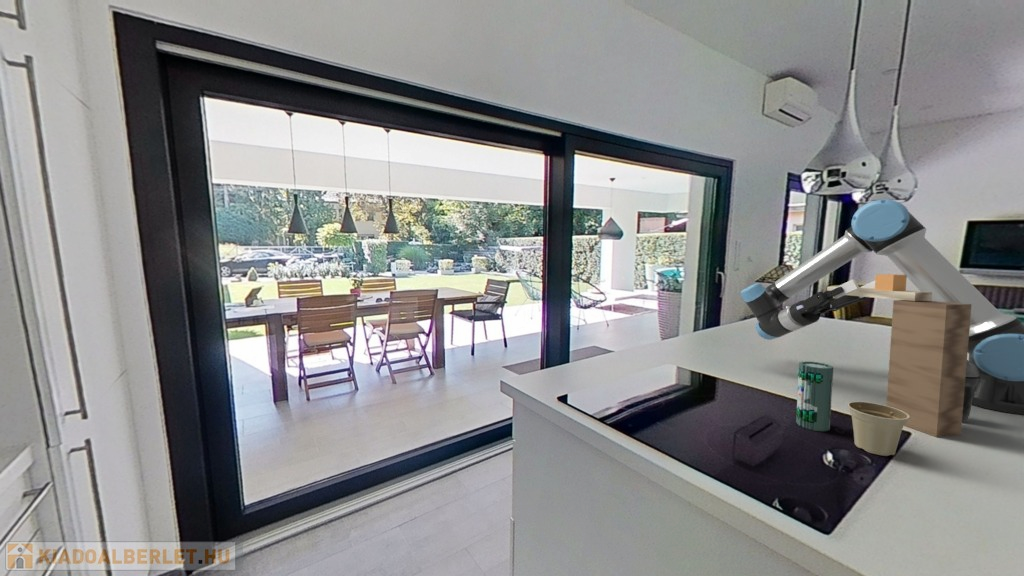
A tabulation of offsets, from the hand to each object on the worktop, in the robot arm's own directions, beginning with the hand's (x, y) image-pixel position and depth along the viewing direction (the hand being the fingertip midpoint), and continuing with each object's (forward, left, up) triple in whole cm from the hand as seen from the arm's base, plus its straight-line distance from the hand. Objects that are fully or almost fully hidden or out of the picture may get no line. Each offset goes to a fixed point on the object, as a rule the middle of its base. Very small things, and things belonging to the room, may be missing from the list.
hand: (868, 283), depth 101 cm
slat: (0, +1, -3) cm, 4 cm away
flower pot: (+23, +20, -34) cm, 46 cm away
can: (+25, +8, -34) cm, 43 cm away
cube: (0, +5, -1) cm, 5 cm away
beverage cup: (-13, +11, -34) cm, 38 cm away
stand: (0, +13, -34) cm, 36 cm away
